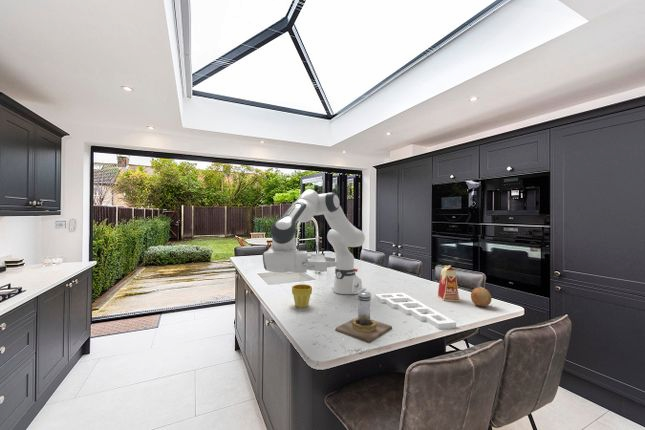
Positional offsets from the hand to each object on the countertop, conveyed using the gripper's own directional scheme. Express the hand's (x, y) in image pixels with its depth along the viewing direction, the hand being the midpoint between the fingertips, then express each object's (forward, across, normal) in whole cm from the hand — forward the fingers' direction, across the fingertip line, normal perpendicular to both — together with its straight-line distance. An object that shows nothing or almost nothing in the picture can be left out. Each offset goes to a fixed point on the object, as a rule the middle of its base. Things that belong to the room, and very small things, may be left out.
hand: (336, 261), depth 114 cm
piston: (+12, 0, +27) cm, 29 cm away
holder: (+40, +22, +29) cm, 54 cm away
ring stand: (+12, 0, +28) cm, 30 cm away
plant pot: (-14, +30, +28) cm, 44 cm away
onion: (+81, +28, +28) cm, 91 cm away
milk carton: (+70, +41, +28) cm, 86 cm away
